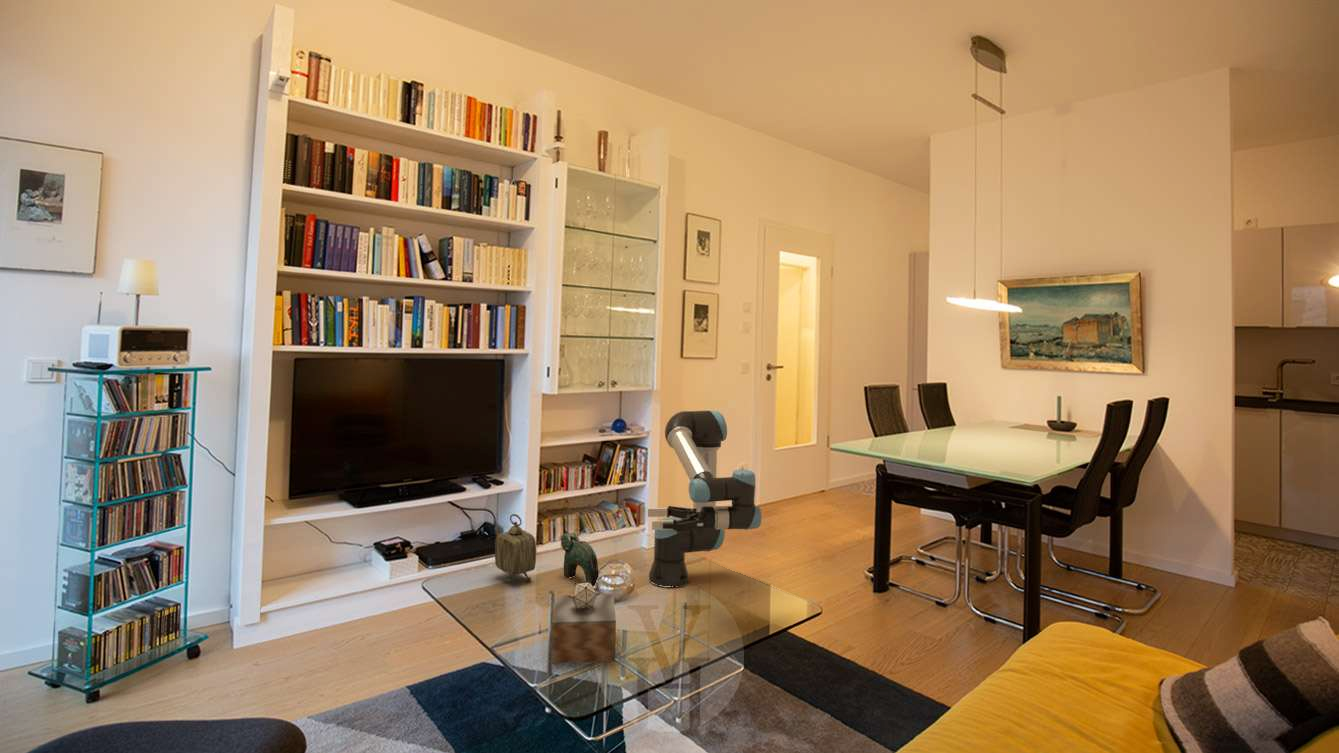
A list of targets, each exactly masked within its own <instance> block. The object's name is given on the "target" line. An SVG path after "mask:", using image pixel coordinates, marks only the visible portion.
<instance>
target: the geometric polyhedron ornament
mask: <svg viewBox="0 0 1339 753" xmlns="http://www.w3.org/2000/svg"><path fill="white" fill-rule="evenodd" d="M591 581H592V580H590V582H588V583H586V582H581V583H577V582H576V581H574V582H573V583H574V588H573V589H572V591H571V592H572V593H571V596H568V597H569V598H570V597H571V599H572V600H573V602H574V604H575V606H576V608H577V609H576V611H577V610H578V609H581V608H589V607H591V608H592V609H593V607H592V606H593V603H594V601H595V598H596V596H597V595H600V593H599V592H598V593H597V591H596V589H595V590H594V588H593V586H592V584H591Z"/></svg>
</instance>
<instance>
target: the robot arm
mask: <svg viewBox="0 0 1339 753" xmlns="http://www.w3.org/2000/svg"><path fill="white" fill-rule="evenodd" d="M727 436H728V425H727V422H726V419H725V417H724V415H723V414H722V413H721V412H720V411H716V410H692V411H691V410H690V411H688V410H686V411H685V410H682V411H680V412H676V413H675V414H674V415H673V416H671V417H670V418H669V420H668V421H667V422H666V424H665V428H664V437H665V440H666V442H667V444H668V446H669V447H670V448H672V449H673V450H674V452H675V454H676V456H677V458H678V460H679V461H680V463H681V466H682V468H683V469H684V472H685V473H686V475H687V476H688V478H689V483H688V494H689V498H690V500H691V501H692V502H693V506H692V508H690V507H689V508H688V507H681V506H673V505H669V506H668V507H657V508H656V507H652V508H649V507H647V517H648V518H655V517H656V518H657V517H658V518H661V517H662V519H660V520H651V530H653V531H654V533H653V535H654V536H653V537H654V548H653V549H654V551H653V552H654V553H653V562H652V564H651V567H650V570H649V573H648V581H649V580H650V581H651V582H653V583H655V584H657V585H662V586H671V587H672V586H673V587H676V586H681V585H684V584H686V583H687V584H689V581H688V580H689V579H690V577H689V576H690V575H689V572H688V569H687V565H686V562H685V560H686V559H685V556H686V555H685V554H689V553H697V552H698V553H700V552H711V551H716V550H718V549H721V547H722V545H723V543H724V541H725V532H726V531H725V530H747V531H748V530H753V529H759V528H760V526H761V524H762V518H763V517H762V511H761V508H760V507H759V506H757V505H756V504H755V495H756V474H755V472H754V471H752V470H750V469H736V470H733V471H732V475H731V476H729V477H725V476H724V477H717V458H718V456H717V455H718V450H719V449H720V448H721V447H722V442H723V441H725V440H727ZM724 501H728V502H729V501H731V505H728V506H727V505H717V503H716V502H724ZM664 517H665V518H664ZM650 581H649V582H650ZM687 584H686V585H687ZM684 586H685V585H684ZM681 587H682V586H681ZM676 588H677V587H676Z"/></svg>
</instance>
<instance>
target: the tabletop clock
mask: <svg viewBox="0 0 1339 753" xmlns="http://www.w3.org/2000/svg"><path fill="white" fill-rule="evenodd" d="M512 517H516V518H517V519H518V520H519V524H518V522H517V521H513V520H512ZM509 520H510V523H511V524H512V526H511V527H510V528H509V530H508V531H505V532H502V533H498V535H497V536H496V537H495V541H494V543H495V544H494V560H495V561H494V563H495V566H496V568H498V569H499V570H501V571H502V572H503V573H507V574H508V575H509V577H508V578H507V581H508V582H512V581H513V577H512V576H519V575H521V574H523V575H524V576H525V578H526V581H527V583H530V582H531V581H532V577H530V576H528V574H527V572H531V571H534V570H535V569H536V563H537V543H536V542H537V541H536V538H535V536H534V535H533V534H531V533H530V532H527V531H526V530H523V529H522V527H521V525H522V519H521V517H520V516H519V515H518V514H516V513H513V514H511V515H510V517H509Z"/></svg>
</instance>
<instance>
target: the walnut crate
mask: <svg viewBox="0 0 1339 753" xmlns="http://www.w3.org/2000/svg"><path fill="white" fill-rule="evenodd" d="M568 596H571V595H565V594H564V595H555V596H554V604H553V606H554V607H553V614H552V622H551V636H552V637H551V664H562V663H564V664H566V663H585V662H587V663H588V662H614V661H616V634H617V633H616V631H617V626H616V625H617V618H616V617H617V616H616V608H615V598H614V597H615V596H614V593H611V594H607V593H606V594H605V593H603V594H599V595H597V596H596V598H595V601H594V603H593V606H592V607H593V609H592V608H591V607H589V608H581V609H578V610H577V611H576V609H577V608H576V606H575V604H574V602H573V600H572V599H571V597H570V598H569V597H568Z"/></svg>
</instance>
